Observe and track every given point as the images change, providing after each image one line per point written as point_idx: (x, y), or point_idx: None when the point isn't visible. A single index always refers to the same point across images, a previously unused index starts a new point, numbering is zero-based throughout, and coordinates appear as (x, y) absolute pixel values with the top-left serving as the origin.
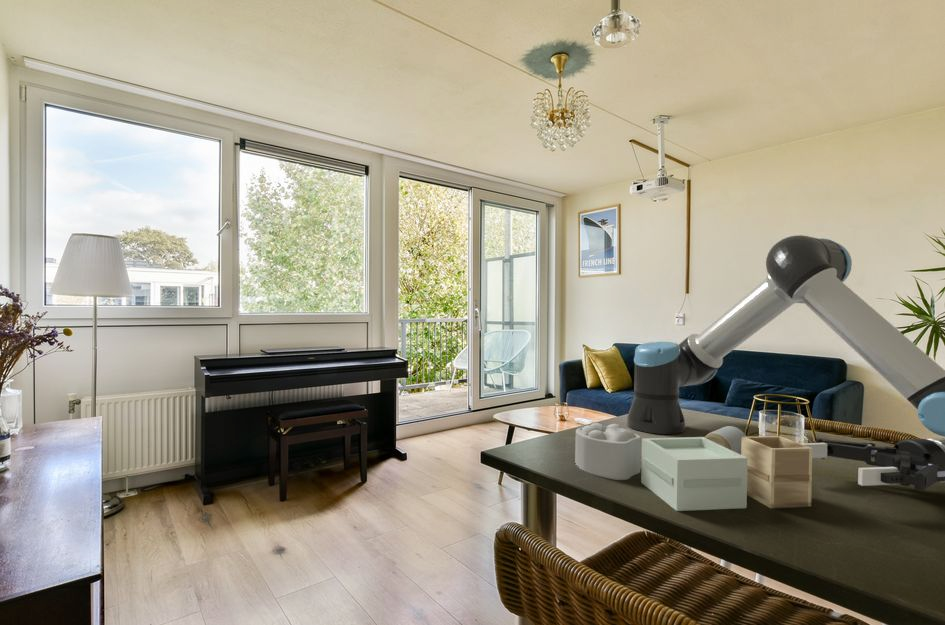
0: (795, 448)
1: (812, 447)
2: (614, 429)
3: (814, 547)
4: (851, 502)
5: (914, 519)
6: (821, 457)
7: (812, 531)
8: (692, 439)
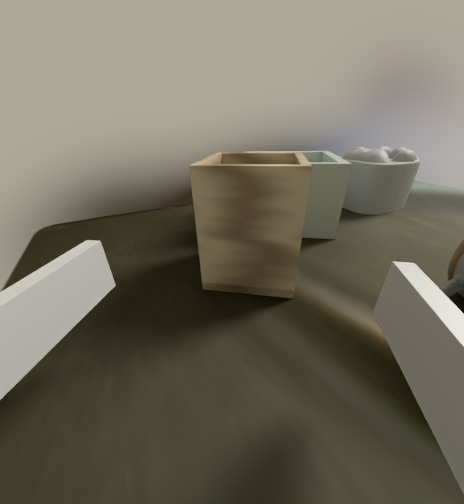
0: (205, 159)
1: (435, 341)
2: (373, 150)
3: (137, 231)
4: (173, 397)
5: None
6: (450, 464)
7: (154, 245)
8: (335, 161)
